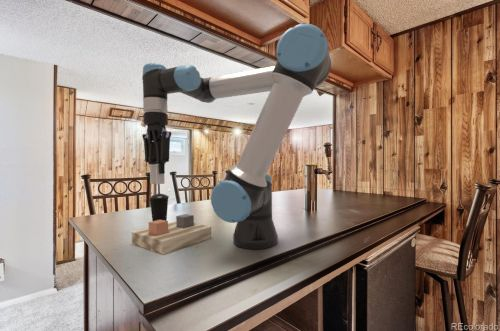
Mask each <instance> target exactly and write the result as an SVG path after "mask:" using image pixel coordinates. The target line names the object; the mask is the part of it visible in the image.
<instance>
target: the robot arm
mask: <svg viewBox="0 0 500 331" xmlns="http://www.w3.org/2000/svg"><path fill="white" fill-rule="evenodd" d="M328 41H329V40H328V39H327V38H326V36H325V33H324V32H323V31H322V29H321V28H320V27H318V26H317V25H314V24H310V23H300V24H297V25H294V26H292V27H289V28H288V29H287V30H286V31H285V32H284V33H283V34H281V36H280V38H279V40H278V42H277V45H276V58H277V61H276V63H275V65H271V66H265V67H260V68H259V67H258V68H255V69H249V70H245V71H243V70H242V71H238V72H233V73H227V74H221V75H216V76H211V77H206V78H205V77H204V78H203V77H201V74H200V72H199V70H198V69H197V67H196V66H195V65H193V64H185V65H184V64H183V65H182V64H181V65H178V66H175V67H174V66H173V67H170V68H167V67H166V66H165V65H163V64H161V63H158V62H154V63H152V62H149V63H146V64H144V65H143V67H142V78H141V80H142V92H143V93H142V95H143V96H142V101H143V102H142V105H143V106H142V107H143V108H142V110H143V112H144V113H143V124H144V125H146V126H147V128H146V133H143V134H142V136H141V137H142V140H143V148H144V149H143V150H144V160H145V163H147V164H148V165H149V178H150V179H149V180H150V183H149V184H150V185H154V184H155V185H158V184H160V185H162V184H163V185H164V184H165V183H166V182H165V173H166V171H165V170H166V168H165V166H166V163H167V162H170V149H171V148H170V147H171V137H172V131H168V130H167V129H166V126H167V125H168V124H169V115H168V112H169V111H168V95H169V94H175V93H176V94H177V93H179V94H180V93H181V94H183V95H186V96H188V97H191V98H193V99H196V100H198V101H200V102H202V103H206V104H211V103H213V102H214V101H215V100H217V99H224V98H230V97H231V98H232V97H238V96H245V95H252V94H260V93H268V92H269V93H268V96H267V98H266V99H265V102H264V104H263V106H262V108H261V111H260V113H259V115H258V117H257V119H256V122H255V124H254V127H253V128H252V131H251V132H250V135H249V137H248V139H247V142H246V144H245V146H244V148H243V150H242V152H241V155H240V157H239V159H238V161H237V163H236V164H235V165H231V166H230V167H229V169H228V170H227V173H226V175H225V177H224V179H223V180H221V181H220V182H218V183H217V184H216V185H214V187H213V189H212V191H211V194H210V204H211V206H212V208H213V212H214V213H215V215H216V216H217V217H218V218H219V219H221V220H222V221H224V222H226V223H229V224H231V223H232V224H235V223H236V225H235V228H234V233H233V235H232V243H233V245H234V246H236V247H238V248H241V249H247V250H248V249H249V250H261V249H267V248H272V247H274V246H277V244H278V243H279V237H278V236H279V235H278V233H277V230H276V226H275V224H274V220H273V188H272V187H273V183H272V176H270V175H269V174H267V173H268V171H269V169H270V168H271V165H272V163H273V161H274V158H275V157H276V156H277V155H276V154H277V153H278V150H279V149H280V146H281V144H282V142H283V141H284V139H285V136H286V134H287V132H288V130H289V128H290V126H291V124H292V121H293V120H294V117H295V116H296V113H297V111H298V108H299V107H300V105H301V103H302V102H303V101H302V100H303V99H304V97H305V96H308V95H311V94H313V91H314V89H315V88H316V87H319V86H321V85H322V84H323V83H324V82H326V80H327V79H328V77H329V74H330V72H331V68H332V60H331V55H330V50H329V42H328Z"/></svg>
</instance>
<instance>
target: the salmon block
mask: <svg viewBox="0 0 500 331" xmlns="http://www.w3.org/2000/svg"><path fill="white" fill-rule="evenodd" d="M168 223H169V221H168V220H167V221H165V220H156V221H152V220H151V221H148V228H149V234H150V235H153V236H159V235H162V234H166V233H168Z"/></svg>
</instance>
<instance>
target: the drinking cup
mask: <svg viewBox="0 0 500 331" xmlns="http://www.w3.org/2000/svg"><path fill="white" fill-rule="evenodd" d="M160 185H161V184H157V193H155V194H153V195H151V196H149V197H148V199H149V203H150V211H151V222H152V221H156V220H165V221H168V220H167V218H168V207H169V206H168V205H169V198H170V197H169V195H167V194H164V193H161V186H160Z"/></svg>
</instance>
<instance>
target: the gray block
mask: <svg viewBox="0 0 500 331" xmlns="http://www.w3.org/2000/svg"><path fill="white" fill-rule="evenodd" d="M194 217H195V216H194V214H188V213H186V214H180V215H176V216H175V220H176V221H175V222H176V225H177V227H179V228H188V227H192V226H194V223H195V218H194Z"/></svg>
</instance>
